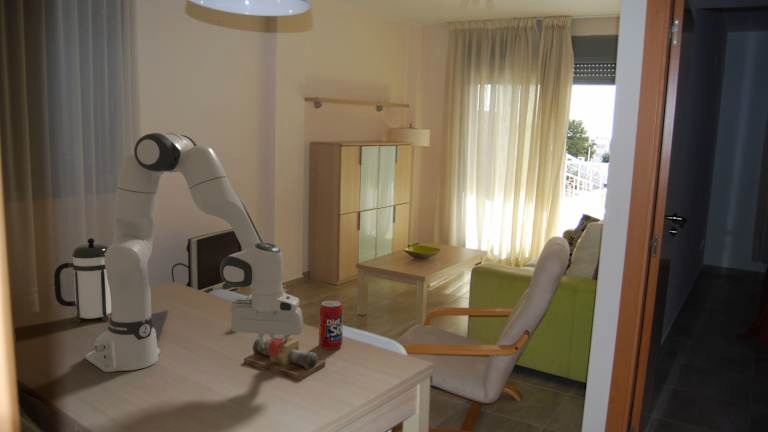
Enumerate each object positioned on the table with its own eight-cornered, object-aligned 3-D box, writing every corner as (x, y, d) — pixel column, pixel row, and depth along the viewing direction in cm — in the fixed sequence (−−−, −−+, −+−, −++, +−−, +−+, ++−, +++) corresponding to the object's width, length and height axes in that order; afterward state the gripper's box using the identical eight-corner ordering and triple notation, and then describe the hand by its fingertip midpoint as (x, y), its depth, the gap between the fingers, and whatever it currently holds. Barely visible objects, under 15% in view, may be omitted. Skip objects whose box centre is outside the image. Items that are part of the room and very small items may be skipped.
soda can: (322, 341, 196) (323, 298, 194) (344, 343, 195) (345, 300, 192) (315, 349, 189) (316, 305, 186) (338, 352, 187) (339, 307, 185)
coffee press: (102, 308, 223) (98, 232, 218) (125, 317, 213) (121, 238, 209) (55, 319, 209) (50, 238, 204) (77, 329, 200) (73, 245, 195)
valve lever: (280, 334, 176) (280, 326, 176) (290, 335, 176) (290, 327, 176) (268, 354, 161) (268, 345, 160) (279, 355, 161) (279, 346, 160)
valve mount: (243, 362, 176) (243, 334, 175) (270, 350, 186) (270, 323, 185) (300, 380, 165) (300, 350, 164) (325, 366, 176) (325, 338, 174)
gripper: (227, 302, 159) (227, 349, 161) (300, 305, 158) (300, 353, 160) (234, 295, 165) (234, 341, 167) (304, 298, 164) (304, 344, 167)
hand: (267, 347), depth 164 cm, fingers closed
